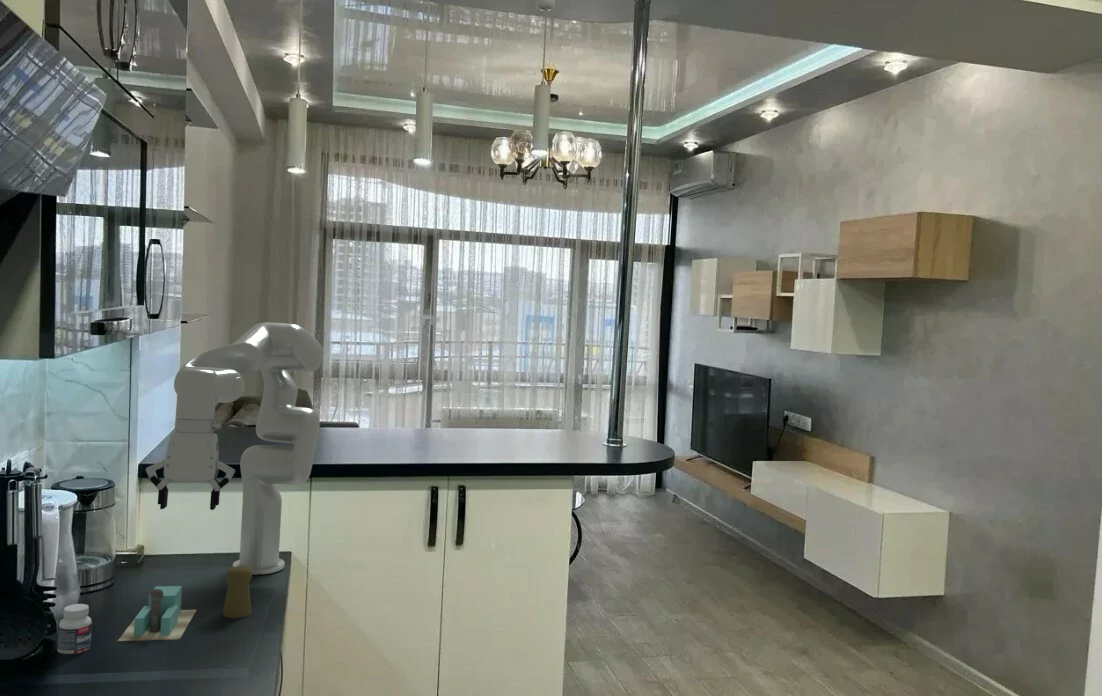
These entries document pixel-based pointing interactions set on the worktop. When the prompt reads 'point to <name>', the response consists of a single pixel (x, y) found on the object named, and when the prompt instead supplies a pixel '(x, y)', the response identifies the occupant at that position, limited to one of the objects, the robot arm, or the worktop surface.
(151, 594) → the stand
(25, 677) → the worktop surface
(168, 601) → the link
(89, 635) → the pill bottle
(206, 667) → the worktop surface
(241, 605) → the cork
